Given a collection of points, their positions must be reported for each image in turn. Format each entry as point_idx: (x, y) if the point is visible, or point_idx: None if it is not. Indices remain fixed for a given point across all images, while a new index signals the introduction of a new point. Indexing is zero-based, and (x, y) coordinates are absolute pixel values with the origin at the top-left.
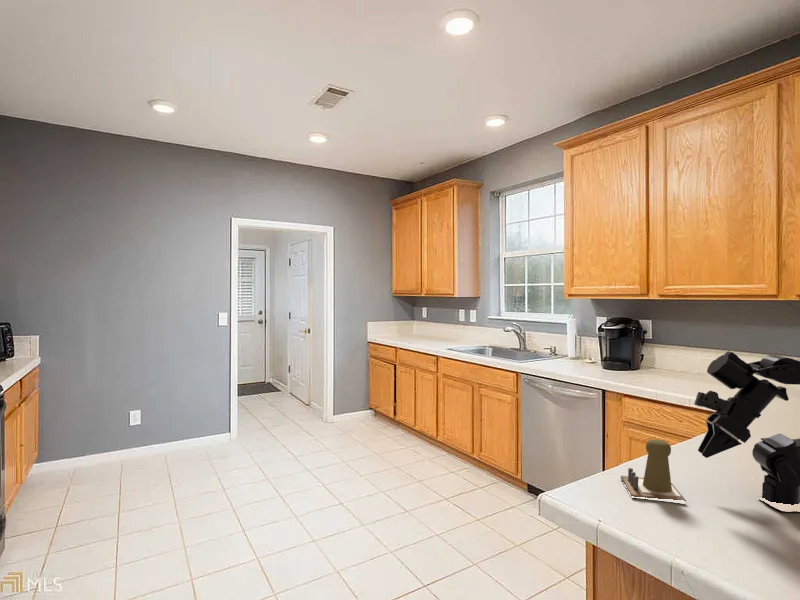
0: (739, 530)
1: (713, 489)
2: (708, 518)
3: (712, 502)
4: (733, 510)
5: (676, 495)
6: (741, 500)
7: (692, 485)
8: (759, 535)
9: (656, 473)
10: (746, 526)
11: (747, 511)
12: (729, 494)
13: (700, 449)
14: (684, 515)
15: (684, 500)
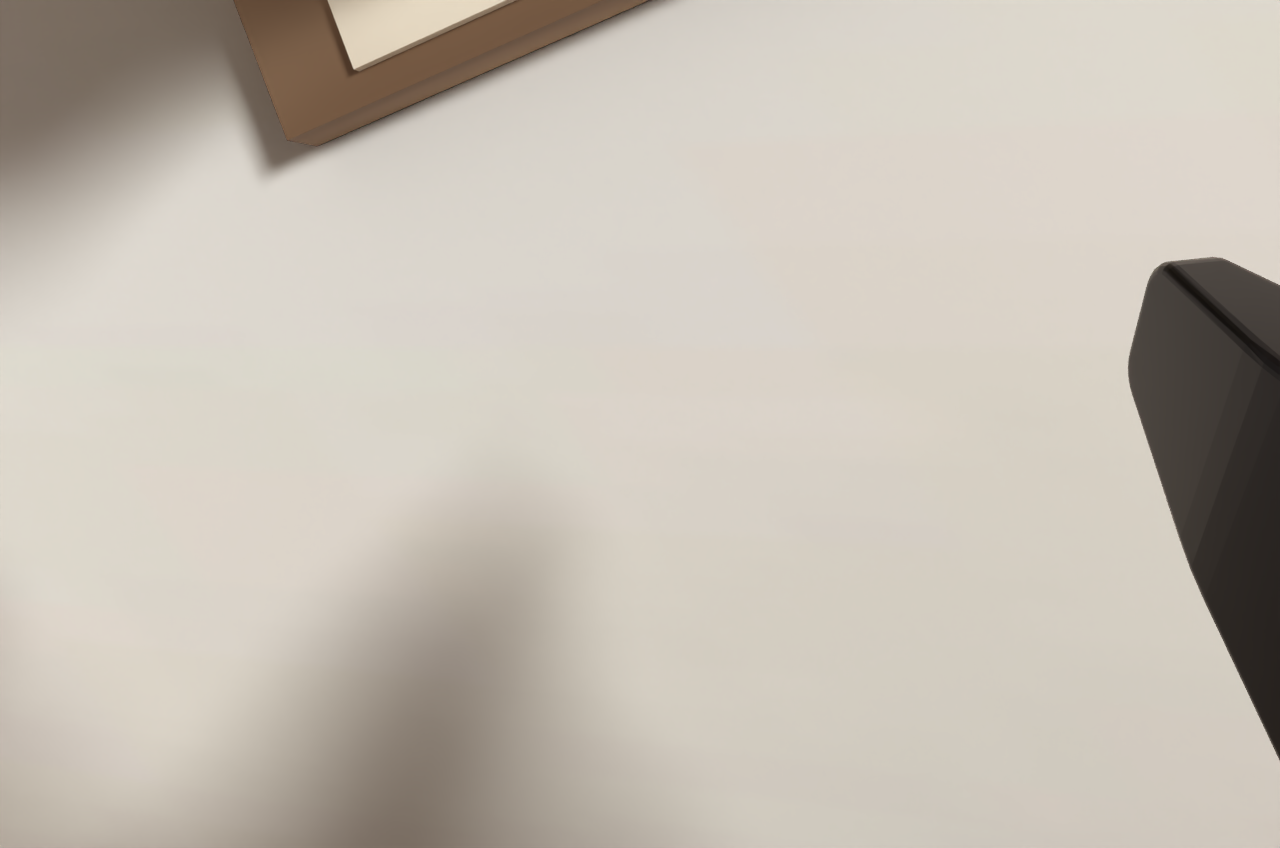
0: (13, 665)
1: None
2: (98, 394)
3: (627, 450)
4: (518, 667)
5: (342, 7)
6: (952, 800)
7: (1193, 188)
8: (26, 823)
9: None
10: (154, 741)
11: (593, 812)
12: (1108, 679)
13: (1184, 338)
14: (4, 152)
15: (280, 122)
